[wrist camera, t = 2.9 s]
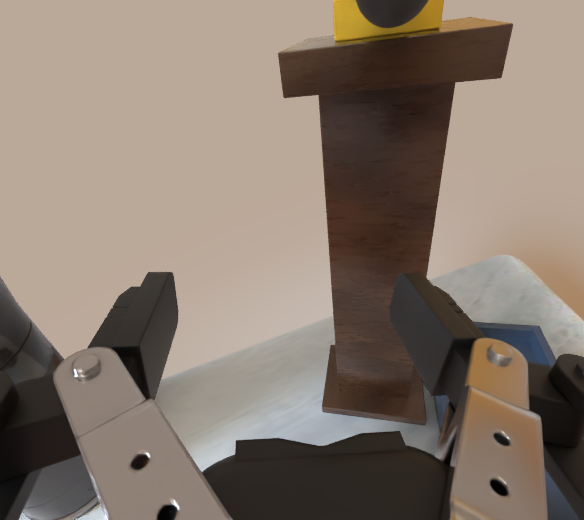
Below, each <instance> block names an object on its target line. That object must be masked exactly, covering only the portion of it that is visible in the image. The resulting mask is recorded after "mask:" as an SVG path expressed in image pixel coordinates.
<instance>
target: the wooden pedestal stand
mask: <svg viewBox="0 0 584 520" xmlns="http://www.w3.org/2000/svg"><path fill="white" fill-rule="evenodd" d="M512 28H513V24H512V23H506V22H499V21H492V20H486V19H479V18H472V17H468V18H460V19H453V20H446V21H441V27H440V28H439V29H434V30H426V31H418V32H410V33H403V34H395V35H387V36H379V37H371V38H364V39H356V40H348V41H340V42H335V37H334V35H332V36H325V37H318V38H310V39H306V40H304V41H302V42H300V43H298V44H296V45H294V46H292V47H289V48H287V49H285V50H283V51H281V52H279V53H278V57H279V64H280V72H281V81H282V89H283V97H284V98H290V97H301V96H312V95H319V109H320V123H321V138H322V152H323V168H324V182H325V197H326V212H327V226H328V239H329V240H328V241H329V256H330V270H331V285H332V299H333V315H334V329H335V344H336V345H331V347H330V354H329V361H328V368H327V375H326V382H325V389H324V396H323V404H322V410H323V412H328V413H335V414H343V415H350V416H358V417H365V418H373V419H381V420H388V421H396V422H403V423H411V424H419V425H425V424H426V412H425V404H424V395H423V386H422V378H421V376H420V375H419V373H418V371H417V369H416V367H415V365H414V364H413V362H412V360H411V358H410V356H409V355H408V353H407V351H406V349H405V347H404V346H403V344H402V342H401V340H400V338H399V337H398V335H397V333H396V331H395V329H394V328H393V326H392V324H391V321H390V316H389V309H390V304H391V300H392V296H393V292H394V288H395V284H396V280H397V277H398V275H399V274H400V273H422V274H423V275H424V276H425V277H426V276H427V269H428V262H429V256H430V249H431V243H432V236H433V229H434V222H435V216H436V208H437V202H438V196H439V188H440V182H441V175H442V169H443V162H444V155H445V149H446V141H447V135H448V128H449V122H450V115H451V108H452V101H453V95H454V88H455V82H464V81H475V80H486V79H497V78H501V77H502V73H503V68H504V64H505V60H506V55H507V51H508V46H509V41H510V37H511V32H512Z"/></svg>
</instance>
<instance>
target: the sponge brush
mask: <svg viewBox="0 0 584 520" xmlns="http://www.w3.org/2000/svg"><path fill="white" fill-rule="evenodd" d="M443 3H444V0H333V11H334V37H335V42H340V41H348V40H356V39H364V38H371V37H379V36H387V35H395V34H403V33H410V32H418V31H426V30H434V29H439V28H440V27H441V20H442V12H443Z"/></svg>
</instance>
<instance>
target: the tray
mask: <svg viewBox="0 0 584 520" xmlns="http://www.w3.org/2000/svg"><path fill="white" fill-rule="evenodd" d="M473 323H474V324H475V325H476V326H477V327H478V328H479V329H480V331H481V332H482V333H483V334H484V335H485V336H486V337H487V338H493V339H497V340H500V341H503V342H505V343H507V344H509V345H511V346H513V347H514V348H516V349H517V350H518V351H519V352H520V353H522V355H523V356H524V357H525V358H526V360H527V361H528V362H533V363H538V364H543V365H548V366H553V365H554V363H555V362H556V359H555V357H554V355H553V353H552V351H551V349H550V347H549V345H548V343H547V341H546V339H545V337H544V335H543V333H542V331H541V328H540V326H531V325H515V324H498V323H482V322H473ZM434 397H435V404H436V411H437V419H438V426H439V433H440V431H441V427H442V423H443V419H444V414H445V410H446V407H447V404H448V402H449V399H448V397H447V395H446V396H434ZM544 469H545V468H544ZM545 484H546V499H547V515H548V520H580V519H579V518H578V516H577V515H576V513H575V512H574V510H573V509H572V507H571V506H570V504H569V503H568V502H567V500H566V499H565V497H564V496H563V494H562V493H561V491H560V490H559V488H558V487H557V485H556V484H555V483H554V481H553V480H552V478H551V477H550V475H549V474H548V472H547V471H546V469H545Z"/></svg>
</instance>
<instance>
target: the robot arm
mask: <svg viewBox="0 0 584 520" xmlns="http://www.w3.org/2000/svg"><path fill="white" fill-rule="evenodd" d="M389 316H390V321H391V324H392V326H393V328H394V329H395V331H396V333H397V335H398V337H399V338H400V340H401V342H402V344H403V346H404V347H405V349H406V351H407V353H408V355H409V356H410V358H411V360H412V362H413V364H414V365H415V367H416V369H417V371H418V373H419V375H420V376H421V378H422V380H423V382H424V384H425V385H426V387H427V389H428V391H429V393H430V394H431V396H446V395H447V397H448V399H449V402H448V404H447V407H446V410H445V414H444V419H443V423H442V427H441V431H440V436H439V440H438V444H437V448H436V452H435V456H433V455H431V454H429V453H427V452H425V451H422V450H420V449H417V448H414V447H411V446H407V445H405V443H404V440H403V438H402V435H401V433H400V431H394V432H376V433H361V434H358V435H355V436H352V437H349V438H346V439H343V440H340V441H337V442H335V443H332V444H329V445H325V446H316V445H311V444H306V443H301V442H296V441H290V440H285V439H280V438H272V439H254V440H237V441H236V452H235V455H233V456H230V457H227V458H225V459H223V460H221V461H219V462H217V463H215V464H213V465H212V466H210V467H208V468H207V469H205V470H204V471H203V472H202V473H201V471H200V470H199V468H198V466H197V465H196V463H195V462H194V460H193V459H192V457H191V456H190V454H189V453H188V451H187V450H186V448H185V447H184V445H183V444H182V442H181V441H180V439H179V437H178V436H177V434H176V433H175V431H174V430H173V428H172V427H171V425H170V424H169V422H168V421H167V419H166V418H165V416H164V415H163V413H162V411H161V410H160V408H159V407H158V405H157V404H156V402H155V401H154V400H155V397H156V394H157V390H158V387H159V384H160V380H161V377H162V374H163V371H164V367H165V364H166V361H167V357H168V354H169V351H170V348H171V344H172V341H173V338H174V335H175V331H176V328H177V323H178V306H177V298H176V290H175V282H174V276H173V273H172V272H148V273H147V275H146V277H145V279H144V281H143V283H142V284H141V286H140V287H130V288H129V289H128V290H127V291H125V292H124V293H122V294H121V295H120V296H119V297H118V299H117V300H116V302H115V304H114V305H113V309H111V310H110V312H109V313H108V315H107V318H105V320H104V322H103V323H102V325H101V327H100V328H99V330H98V331H97V333H96V335H95V336H94V338H93V340H92V341H91V343H90V345H89V346H88V348H87V349H84V350H81V351H78V352H76V353H74V354H72V355H70V356H69V357H67V358H66V359H65V360H64V358H62V356H61V355H60V354H59V352H58V351H57V350H56V349H55V348H54V347H53V345H52V344H51V343H50V342H49V341H48V340H47V338H46V337H45V336H44V335H43V334H42V332H41V331H40V330H39V329H38V327H37V326H36V325H35V324H34V323H33V321H32V320H31V319H30V318H29V317H28V315H27V314H26V313H25V312H24V311H23V309H22V308H21V307H20V306H19V305H18V303H17V302H16V300H15V299H14V297H13V296H12V294H11V292H10V291H9V289H8V288H7V286H6V285H5V283H4V281H3V280H2V278H1V277H0V520H18V519H19V517H20V515H21V513H24V514H25V515H26V516H27V517H28V518H29V519H31V520H73V519H75V518H77V517H79V516H80V515H82V514H84V513H85V512H87V511H88V510H89V509H91V508H92V507H93V506H94V505H95V504H97V503H98V502H99V501H100V504H101V507H102V509H103V512H104V514H105V517H106V520H548V515H547V499H546V484H545V469H546V471H547V472H548V474H549V475H550V477H551V478H552V480H553V481H554V483H555V484H556V485H557V487H558V488H559V490H560V491H561V493H562V494H563V496H564V497H565V499H566V500H567V502H568V503H569V504H570V506H571V507H572V509H573V510H574V512H575V513H576V515H577V516H578V518H579V519H580V520H584V357H582V356H578V355H573V354H564V355H561V356H559V357H558V358H557V360H556V362H555V363H554V365H553V366H548V365H543V364H538V363H533V362H528V361H527V360H526V358H525V357H524V356H523V355H522V353H520V352H519V351H518V350H517V349H516V348H514V347H513V346H511V345H509V344H507V343H505V342H503V341H500V340H497V339H493V338H487V337H486V336H485V335H484V334H483V333H482V332H481V331H480V329H479V328H478V327H477V326H476V325H475V324H474V323H473V322H472V320H471V319H470V318H469V317H468V316H467V315H466V314H465V313H463V310H462V309H461V308H460V307H459V306H458V305H456V302H455V301H454V300H453V299H452V298H451V297H450V296H449V295H448V294H447V293H446V292H444V291H442V290H441V289H439V288H438V287H436V286H433V285H432V284H431V283H430V282H429V280H428V279H427V278H426V277H425V276H424V275H423V274H422V273H400V274H399V275H398V277H397V280H396V284H395V288H394V292H393V296H392V300H391V304H390V309H389ZM544 468H545V469H544Z"/></svg>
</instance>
